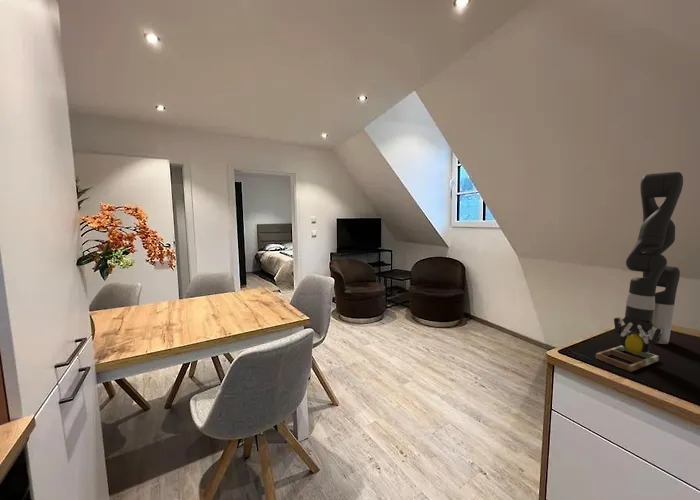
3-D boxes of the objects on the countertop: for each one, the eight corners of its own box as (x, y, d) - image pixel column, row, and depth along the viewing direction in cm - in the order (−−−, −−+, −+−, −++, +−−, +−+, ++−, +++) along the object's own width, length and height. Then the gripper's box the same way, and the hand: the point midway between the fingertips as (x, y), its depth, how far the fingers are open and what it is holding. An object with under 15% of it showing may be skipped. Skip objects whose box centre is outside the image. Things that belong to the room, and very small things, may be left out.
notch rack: (622, 349, 121) (623, 344, 121) (658, 361, 112) (658, 355, 111) (595, 358, 112) (595, 353, 112) (630, 371, 103) (631, 366, 103)
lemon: (647, 358, 111) (650, 337, 110) (630, 356, 112) (633, 335, 111) (636, 351, 116) (639, 331, 115) (620, 350, 117) (622, 330, 116)
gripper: (671, 310, 107) (664, 355, 109) (621, 300, 120) (616, 340, 122) (661, 312, 104) (654, 359, 106) (611, 301, 117) (606, 343, 119)
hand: (634, 348), depth 114 cm, fingers closed on lemon, 5 cm apart
